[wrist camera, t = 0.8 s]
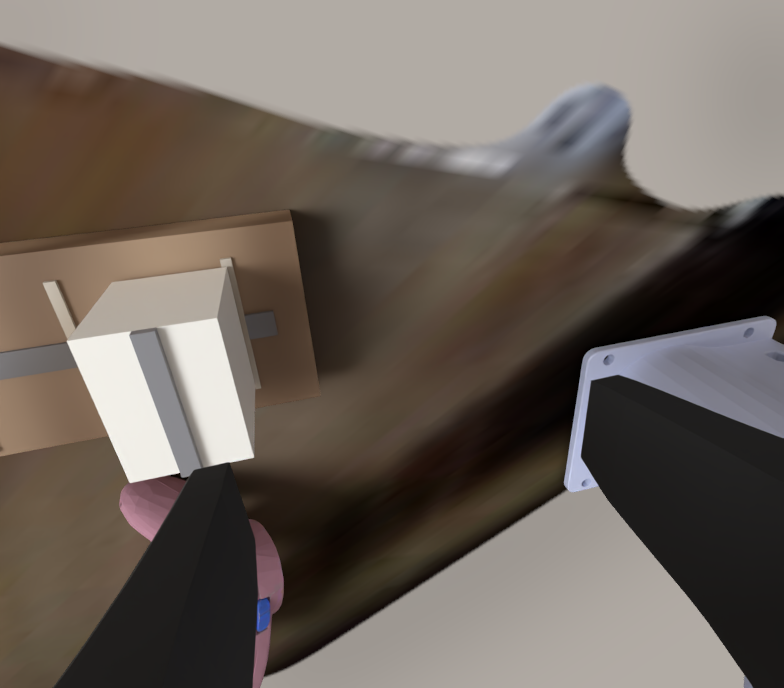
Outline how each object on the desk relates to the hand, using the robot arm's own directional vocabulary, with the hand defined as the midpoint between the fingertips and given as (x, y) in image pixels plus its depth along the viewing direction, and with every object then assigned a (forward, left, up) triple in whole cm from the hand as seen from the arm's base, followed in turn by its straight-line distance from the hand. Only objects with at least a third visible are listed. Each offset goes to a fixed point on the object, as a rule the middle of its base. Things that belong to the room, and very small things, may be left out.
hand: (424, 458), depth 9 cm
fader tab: (+5, 0, -7) cm, 8 cm away
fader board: (+8, 0, -8) cm, 12 cm away
